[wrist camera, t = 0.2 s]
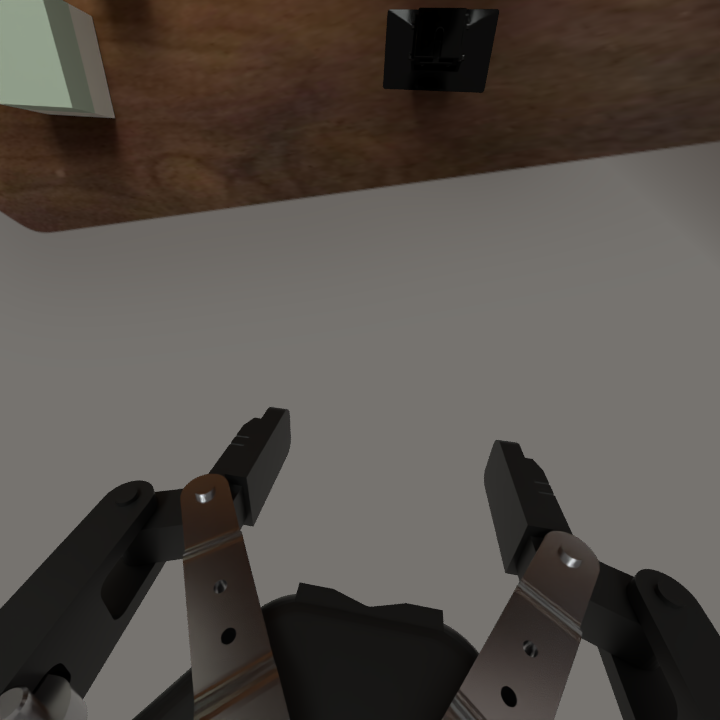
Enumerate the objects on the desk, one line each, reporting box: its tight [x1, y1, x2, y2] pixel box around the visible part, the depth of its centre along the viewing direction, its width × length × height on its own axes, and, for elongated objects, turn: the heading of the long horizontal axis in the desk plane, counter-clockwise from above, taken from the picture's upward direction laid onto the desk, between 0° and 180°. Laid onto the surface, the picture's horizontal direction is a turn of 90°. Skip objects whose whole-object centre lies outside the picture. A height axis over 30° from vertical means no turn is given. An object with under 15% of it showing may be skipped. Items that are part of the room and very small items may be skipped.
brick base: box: [0, 0, 115, 118], centre depth 32 cm, size 8×8×5 cm
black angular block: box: [383, 8, 499, 93], centre depth 28 cm, size 12×7×5 cm, turn 87°
